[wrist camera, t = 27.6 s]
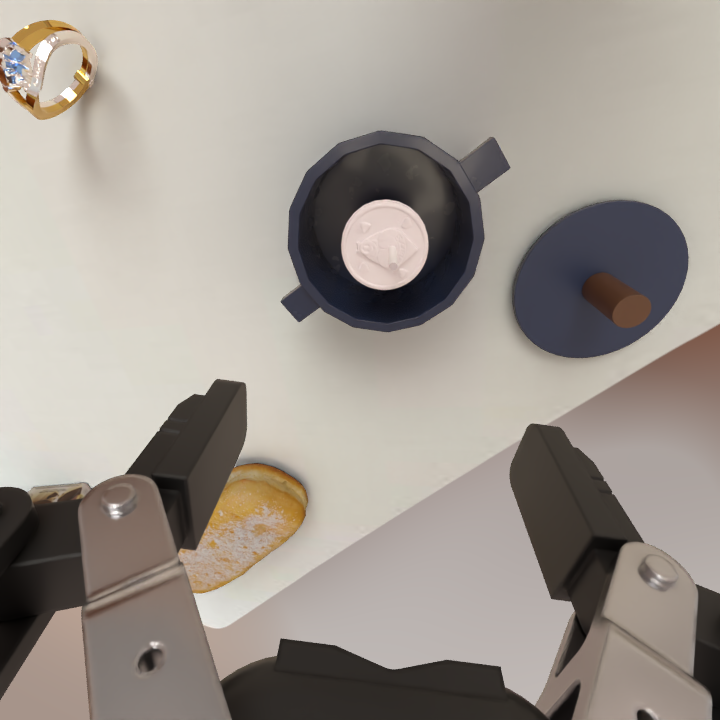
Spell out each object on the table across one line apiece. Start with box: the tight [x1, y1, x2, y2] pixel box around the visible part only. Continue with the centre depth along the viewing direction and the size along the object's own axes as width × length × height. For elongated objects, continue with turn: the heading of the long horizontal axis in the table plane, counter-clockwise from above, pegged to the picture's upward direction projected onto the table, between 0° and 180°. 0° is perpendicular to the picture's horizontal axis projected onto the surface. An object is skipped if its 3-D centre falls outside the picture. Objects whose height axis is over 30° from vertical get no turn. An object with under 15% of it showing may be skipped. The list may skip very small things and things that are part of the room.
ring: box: [0, 20, 98, 120], centre depth 30 cm, size 7×3×8 cm, turn 132°
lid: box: [513, 200, 688, 358], centre depth 36 cm, size 16×16×7 cm
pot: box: [281, 131, 510, 332], centre depth 34 cm, size 15×20×8 cm
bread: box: [178, 463, 308, 593], centre depth 56 cm, size 13×26×8 cm, turn 139°
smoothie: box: [341, 199, 428, 290], centre depth 31 cm, size 6×6×14 cm
